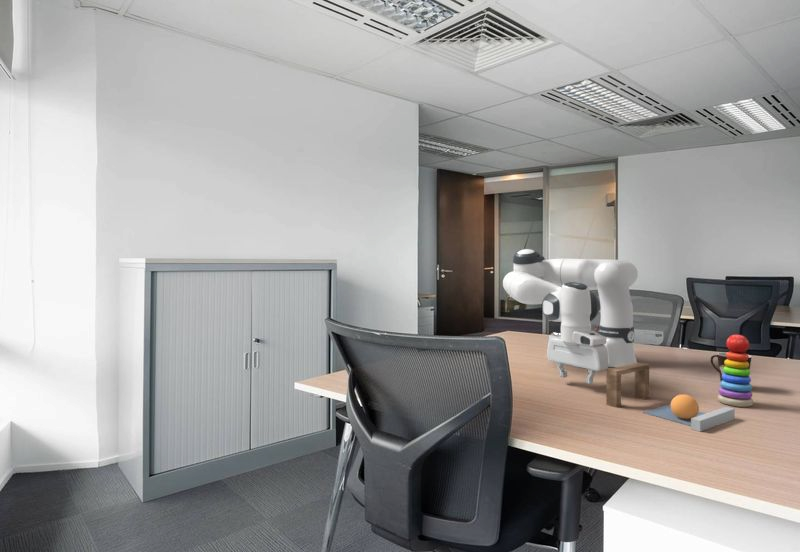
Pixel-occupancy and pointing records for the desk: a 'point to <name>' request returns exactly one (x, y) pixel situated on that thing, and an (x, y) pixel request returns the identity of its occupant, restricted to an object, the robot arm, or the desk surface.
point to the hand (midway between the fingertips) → (575, 380)
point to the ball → (684, 407)
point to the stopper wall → (712, 419)
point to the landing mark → (669, 414)
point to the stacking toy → (736, 374)
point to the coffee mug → (721, 360)
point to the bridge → (615, 382)
